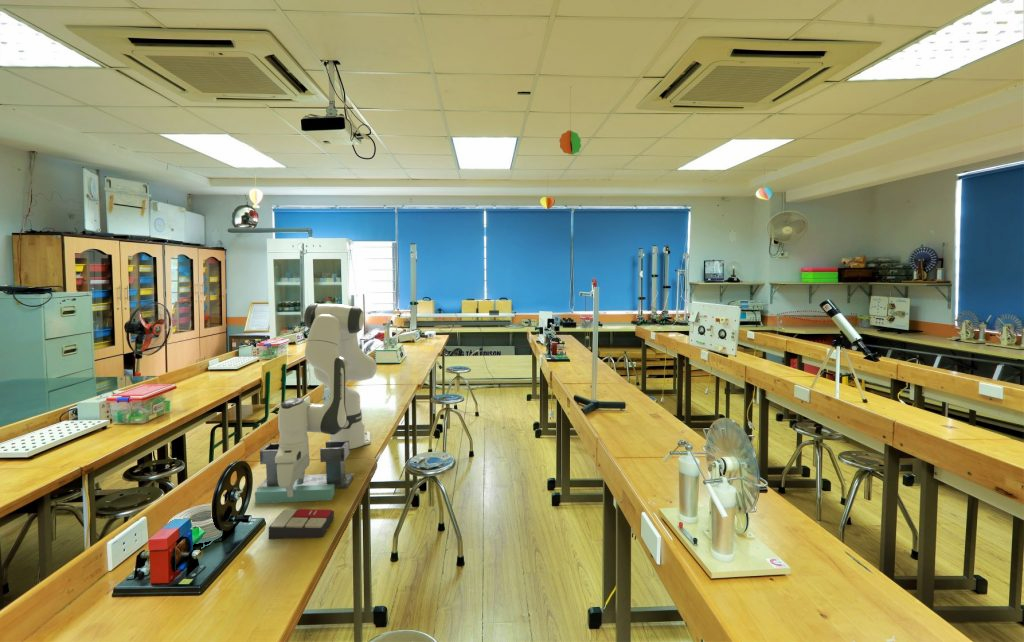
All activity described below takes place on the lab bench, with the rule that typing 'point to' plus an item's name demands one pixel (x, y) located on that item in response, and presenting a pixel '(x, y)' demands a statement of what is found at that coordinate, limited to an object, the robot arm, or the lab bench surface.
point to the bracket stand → (331, 455)
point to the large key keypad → (301, 523)
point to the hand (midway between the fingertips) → (295, 489)
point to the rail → (295, 493)
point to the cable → (200, 519)
